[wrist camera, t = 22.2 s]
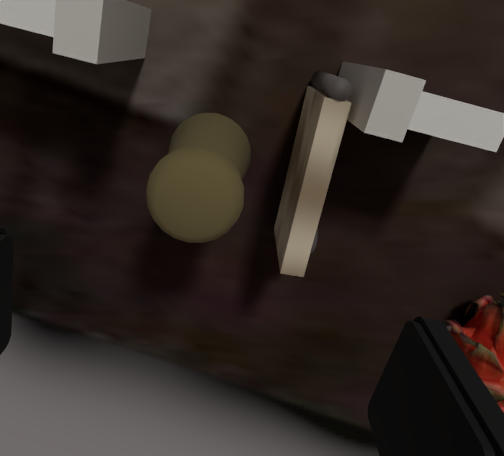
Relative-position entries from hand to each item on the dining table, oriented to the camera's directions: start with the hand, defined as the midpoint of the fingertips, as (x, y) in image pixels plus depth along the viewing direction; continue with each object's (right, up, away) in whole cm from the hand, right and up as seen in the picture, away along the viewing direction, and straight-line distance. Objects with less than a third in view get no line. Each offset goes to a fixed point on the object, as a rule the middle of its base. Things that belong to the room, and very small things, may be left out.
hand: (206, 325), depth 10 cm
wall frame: (0, +14, +19) cm, 23 cm away
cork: (-2, +8, +22) cm, 23 cm away
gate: (+5, +7, +21) cm, 23 cm away
